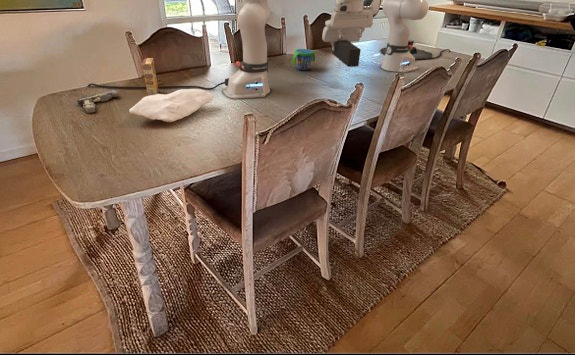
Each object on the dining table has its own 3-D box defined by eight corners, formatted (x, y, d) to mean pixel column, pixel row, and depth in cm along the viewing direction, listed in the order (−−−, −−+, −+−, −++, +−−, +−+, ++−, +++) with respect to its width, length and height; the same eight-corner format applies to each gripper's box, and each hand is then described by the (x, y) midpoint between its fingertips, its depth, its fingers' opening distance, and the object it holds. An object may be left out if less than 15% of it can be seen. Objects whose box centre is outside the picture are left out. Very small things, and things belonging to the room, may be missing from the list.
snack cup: (308, 65, 218) (310, 47, 212) (319, 69, 210) (321, 51, 205) (287, 68, 210) (287, 50, 205) (297, 73, 203) (298, 54, 197)
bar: (358, 66, 180) (360, 49, 175) (347, 66, 179) (350, 49, 174) (341, 53, 201) (343, 37, 196) (331, 53, 200) (333, 37, 195)
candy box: (157, 97, 164) (152, 63, 155) (147, 98, 163) (141, 63, 155) (158, 91, 171) (153, 57, 163) (149, 91, 170) (143, 58, 162)
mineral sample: (442, 55, 248) (445, 41, 243) (409, 61, 230) (411, 46, 226) (402, 47, 272) (404, 34, 268) (369, 52, 255) (370, 39, 251)
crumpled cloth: (117, 110, 146) (113, 90, 140) (195, 92, 166) (194, 73, 160) (143, 139, 134) (140, 118, 128) (223, 116, 154) (224, 96, 148)
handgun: (128, 97, 156) (111, 87, 164) (86, 107, 144) (70, 97, 152) (129, 103, 157) (113, 94, 165) (88, 114, 146) (72, 103, 154)
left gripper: (371, 5, 173) (367, 35, 180) (330, 5, 169) (328, 37, 176) (377, 6, 167) (372, 38, 175) (334, 7, 164) (332, 39, 171)
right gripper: (359, 21, 192) (356, 48, 199) (322, 21, 188) (320, 49, 196) (364, 23, 187) (360, 51, 194) (326, 23, 183) (323, 52, 190)
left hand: (350, 37), depth 176 cm, fingers open, 8 cm apart
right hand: (339, 50), depth 195 cm, fingers closed on bar, 5 cm apart
